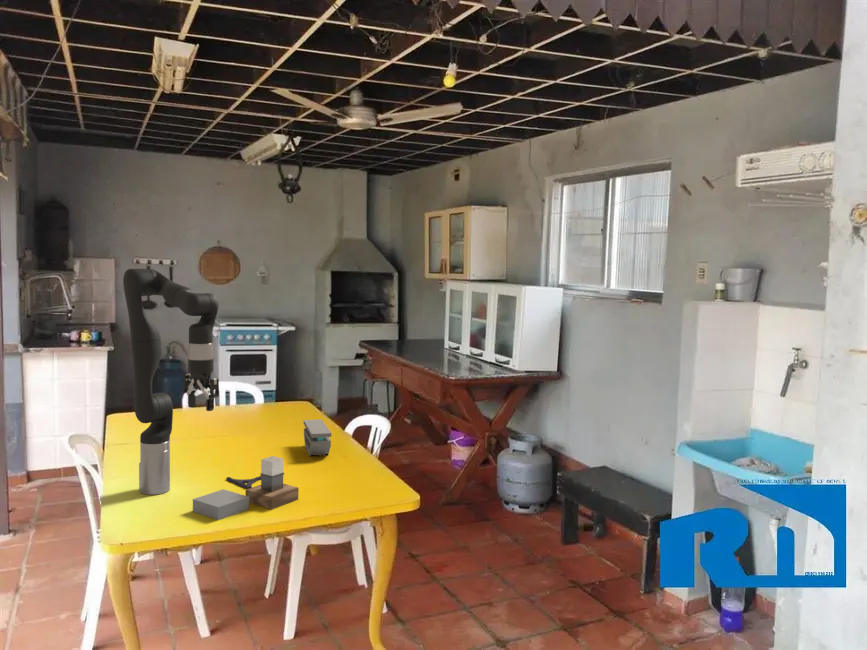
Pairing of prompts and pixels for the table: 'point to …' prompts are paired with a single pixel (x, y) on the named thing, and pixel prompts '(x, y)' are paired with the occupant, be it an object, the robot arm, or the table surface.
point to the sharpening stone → (316, 437)
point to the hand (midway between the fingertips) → (200, 408)
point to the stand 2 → (272, 496)
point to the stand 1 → (220, 504)
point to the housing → (272, 474)
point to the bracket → (242, 482)
